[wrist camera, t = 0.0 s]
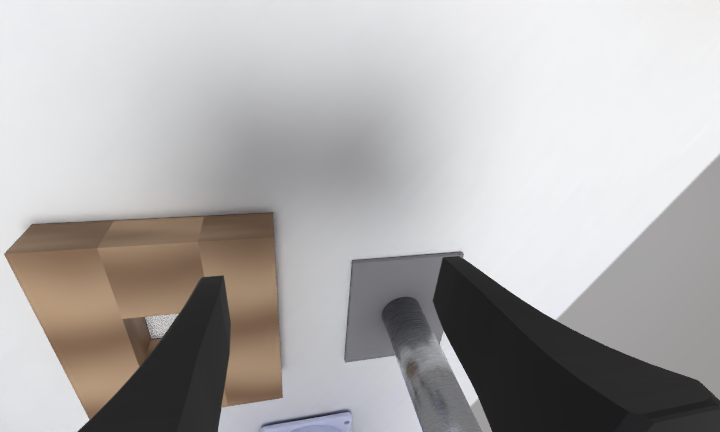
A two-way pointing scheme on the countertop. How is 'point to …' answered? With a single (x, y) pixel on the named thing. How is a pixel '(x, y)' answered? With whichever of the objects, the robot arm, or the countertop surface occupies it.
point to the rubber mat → (388, 299)
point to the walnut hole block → (150, 295)
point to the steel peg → (426, 370)
